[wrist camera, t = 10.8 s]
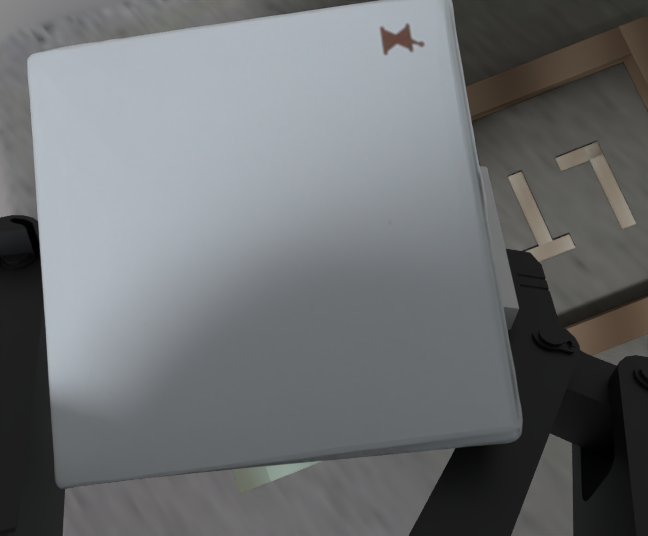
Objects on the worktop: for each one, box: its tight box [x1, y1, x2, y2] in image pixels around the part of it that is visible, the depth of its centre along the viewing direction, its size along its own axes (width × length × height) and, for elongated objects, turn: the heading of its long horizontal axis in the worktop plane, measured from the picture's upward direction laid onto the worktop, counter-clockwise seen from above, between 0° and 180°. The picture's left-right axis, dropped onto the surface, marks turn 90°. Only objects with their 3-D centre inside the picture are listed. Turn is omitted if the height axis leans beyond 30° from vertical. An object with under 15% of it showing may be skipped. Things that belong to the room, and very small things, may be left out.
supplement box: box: [27, 0, 523, 489], centre depth 14 cm, size 7×7×13 cm
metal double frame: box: [232, 16, 648, 493], centre depth 25 cm, size 26×14×1 cm, turn 111°
